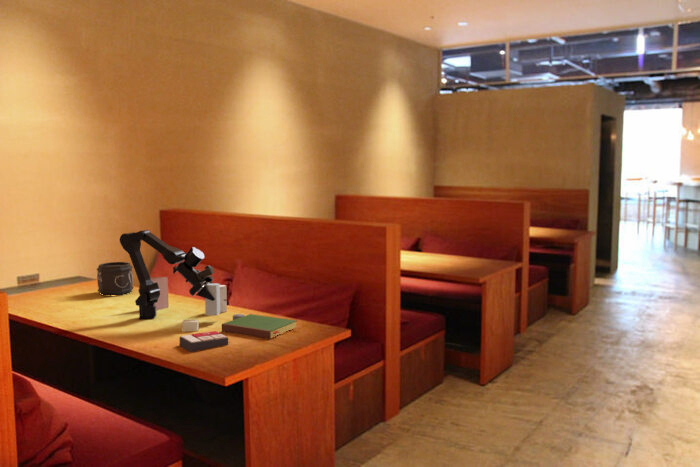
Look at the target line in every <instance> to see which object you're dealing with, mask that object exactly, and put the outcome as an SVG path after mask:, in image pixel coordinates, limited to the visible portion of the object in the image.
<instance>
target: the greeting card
mask: <svg viewBox="0 0 700 467" xmlns="http://www.w3.org/2000/svg"><path fill="white" fill-rule="evenodd" d="M150 279H151V281H153V282H154V283H155V282H157V283H158V287H159V289H160V296H159V298H158V301H157V302H156V303H155V306H156V311H160V310H165V309H168V307H170V306H169V285H168V283H169V282H168V281H169V280H168V279H169V278H168V276H158V277H155V276H154V277H150ZM164 308H165V309H164ZM159 309H160V310H159Z"/></svg>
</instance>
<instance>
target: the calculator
mask: <svg viewBox="0 0 700 467" xmlns="http://www.w3.org/2000/svg"><path fill="white" fill-rule="evenodd" d="M224 345H225V346H228V345H229V337H227V336H226V335H224V334H222V333H221V332H218V331H216V330H214V331H213V330H211V331H206V332H198V333H191V334H185V335H181V336H179V347H181V348H183V349H184V350H186V351H188V352H190V353H194V352H199V351H198V350H200V351H203V350H207V349H206V348H209V349H213V348H212V347H215V348H219V347H218V346H220V347H224ZM202 349H203V350H202Z"/></svg>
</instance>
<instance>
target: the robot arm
mask: <svg viewBox="0 0 700 467" xmlns="http://www.w3.org/2000/svg"><path fill="white" fill-rule="evenodd" d="M141 242H144V243H146V244H147V245H149V246H150V247H151V248H153V249H154V250H156V251H157V252H158V253H159V254H160V255H162V258H163V259H164V260H165V262H166V263H168V264H170V265H174V267H172V271H173V272H172V273H173V275H174V274H176V273H177V272H178V273H179V275H181V276H182V277H183V278H184V281H185V282H186V283H189V284H190V285H191V286H192V287H190V289H189V290H188V291H189V294H190V296H192V297H193V296H198V297H201V298H204V299H205V298H206V299H209V300H212V301H214V300H215V298H214V297H213V296H212V294H211V293H210V292H209V291H208V289H207V284H208V283H213V282H214V277H213V275H214V274H215V271H214V267H213V266H211V265H209V264H208V265H206V266H205V267H204V269H203V270H200V269H196V267H197V266H198V265H199V264H200V263H201V262H202V261H203V260H204V259H205V254H204V252H203V251H202V250H200V249H199V248H196V247H195V246H192V247H191V248H190V249H189V250H188V251H187V252H184V250H182V249H180V248H179V247H175V246H171V245H169V244H168V243H167V242H165V241H164V240H162V239H160V238H159V237H158V236H156V235H155V234H153V233H152V232H151V230H149V229H143V230H139V231H136V232H135V231H134V232H133V231H132V232H131V231H130V232H126V233H122V234H121V235H120V238H119V243H120V246H121V247H122V249H123V250H124V251H126V252H125V253H127V254H128V255H129V258H130V261H131V265H132V267H133V269H134V273H135V274H136V277H137V280H138V282H139V287H138V293H139V296H138V297H137V298H136V299H135V301H134V303H135V306H137V307H138V312H139V313H138V315H139V317H138V320H152V319H155V317H156V316H157V310H156V306H155V303H156V302H157V301H158V298H159V296H160V289H159V287H158V283H157V282H155V283H154V282H153V281H151V279H150V278H151V277H150V273H149V271H148V269H147V266H146V264H145V260H144V257H143V254H142V252H141V245H142V243H141ZM175 264H177V265H175Z"/></svg>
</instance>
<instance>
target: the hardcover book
mask: <svg viewBox="0 0 700 467" xmlns="http://www.w3.org/2000/svg"><path fill="white" fill-rule="evenodd" d="M295 327H296V328H297V319H296V320H295V319H289V318H282V317H281V318H280V317H273V316H266V315H259V314H252V313H249V314H247V315H244V316H243V317H240V318H237V319H234V320H233V319H232V320H229V321H227V322H224V323H221V332H222V333H229V334H233V335H239V336H246V337H251V336H252V337H253V338H257V337H258V338H259V339H264V338H267V339H266V340H272V339H273V338H272V337H274V336H276V335H279V334H281V333H283V332H286V331H288V330H290V329H293V328H295ZM293 330H294V329H293ZM288 332H289V331H288ZM286 333H287V332H286ZM281 335H282V334H281ZM279 336H280V335H279ZM276 337H277V336H276ZM271 338H272V339H271ZM274 338H275V337H274Z"/></svg>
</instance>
